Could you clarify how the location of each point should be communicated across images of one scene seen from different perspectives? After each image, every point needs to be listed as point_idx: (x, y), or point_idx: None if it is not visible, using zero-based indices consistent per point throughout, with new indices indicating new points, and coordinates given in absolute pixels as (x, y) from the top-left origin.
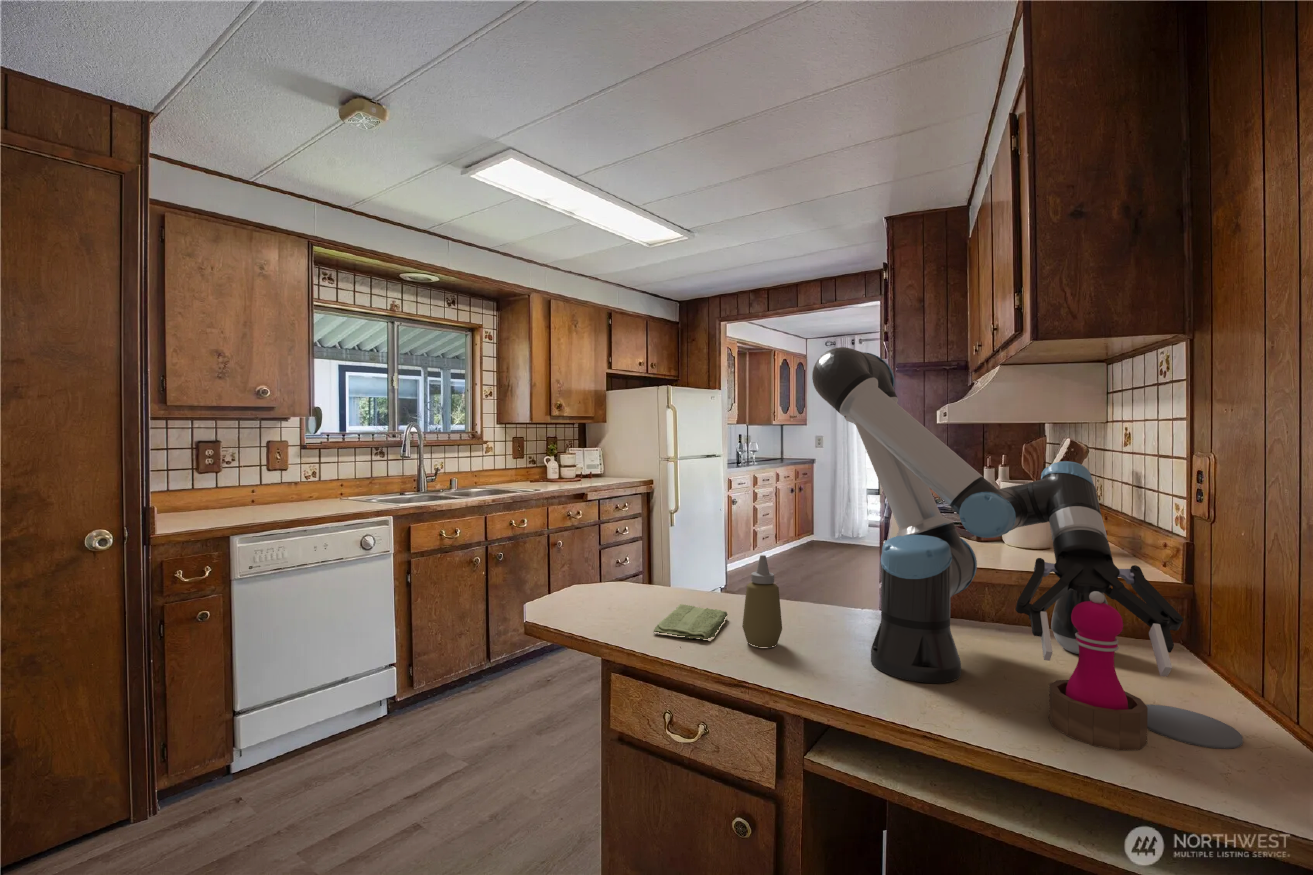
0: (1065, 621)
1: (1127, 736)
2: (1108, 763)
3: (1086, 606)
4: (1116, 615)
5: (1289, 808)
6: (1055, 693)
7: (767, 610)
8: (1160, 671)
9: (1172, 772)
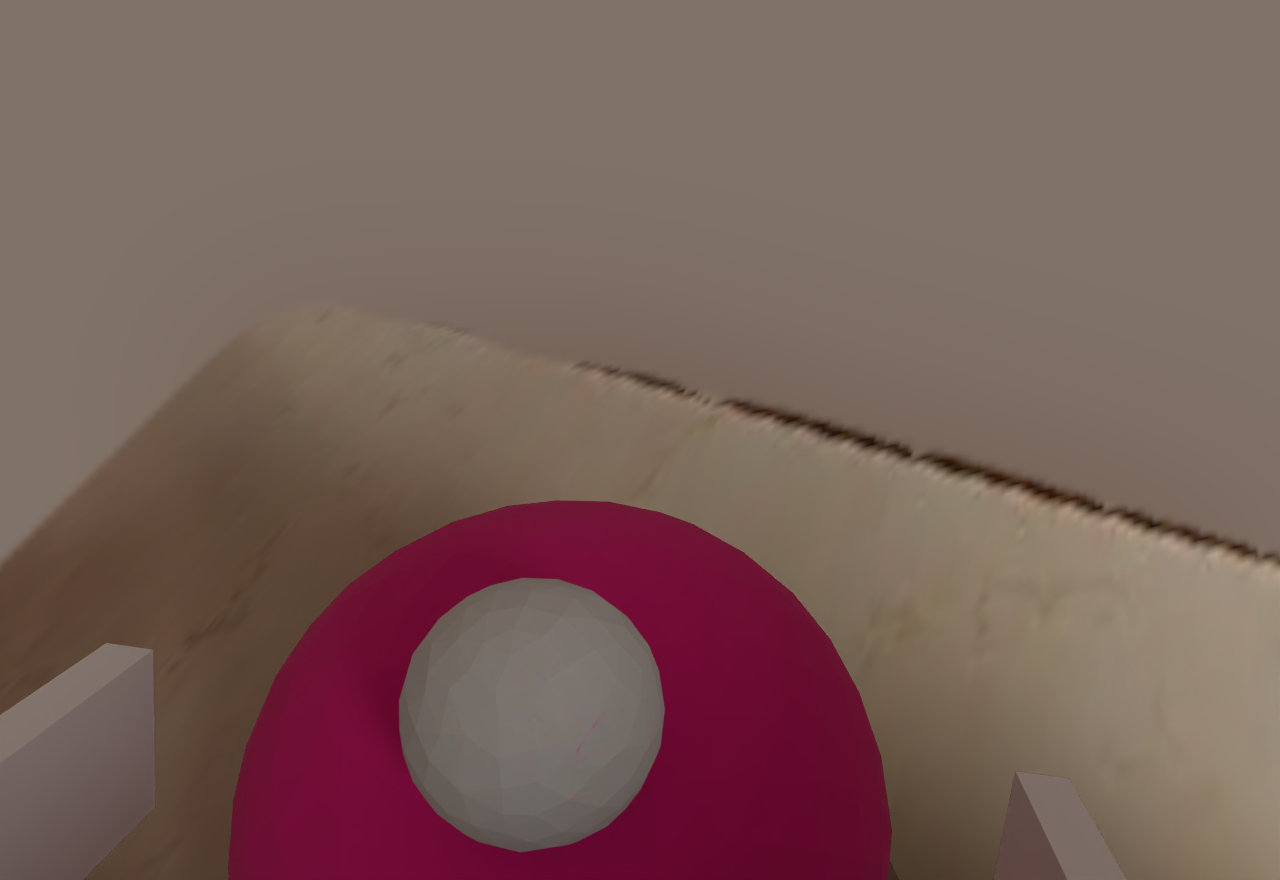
0: None
1: None
2: None
3: (750, 632)
4: (391, 556)
5: (181, 423)
6: (893, 872)
7: None
8: (139, 792)
9: None
